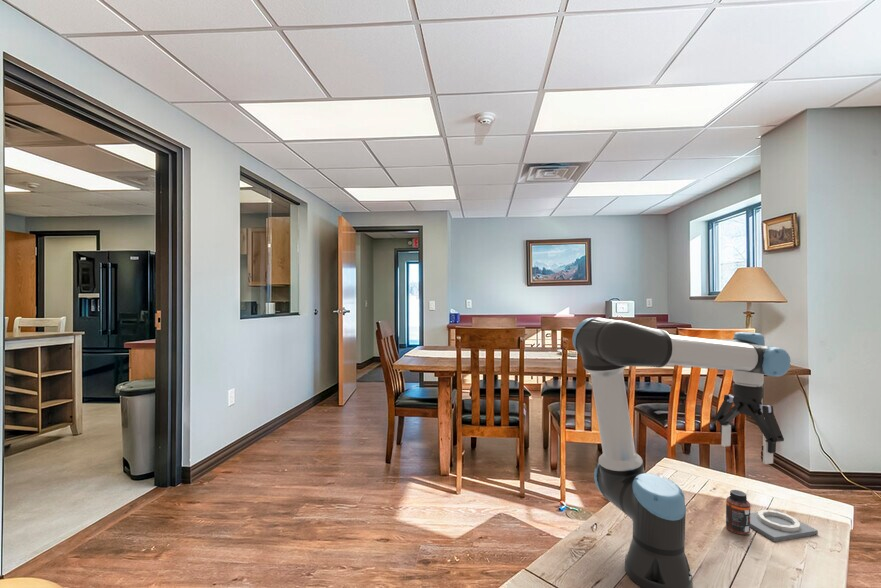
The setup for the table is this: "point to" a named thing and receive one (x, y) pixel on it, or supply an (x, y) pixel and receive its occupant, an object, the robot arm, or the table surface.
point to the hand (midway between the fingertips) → (745, 454)
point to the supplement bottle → (738, 513)
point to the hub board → (779, 525)
